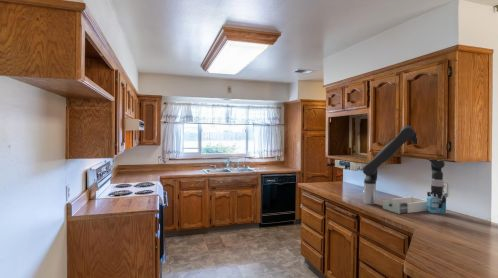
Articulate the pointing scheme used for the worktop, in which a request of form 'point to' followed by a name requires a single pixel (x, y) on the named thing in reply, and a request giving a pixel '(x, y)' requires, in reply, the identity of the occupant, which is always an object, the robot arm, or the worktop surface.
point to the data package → (435, 205)
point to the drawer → (395, 206)
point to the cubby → (412, 204)
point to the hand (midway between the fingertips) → (436, 207)
